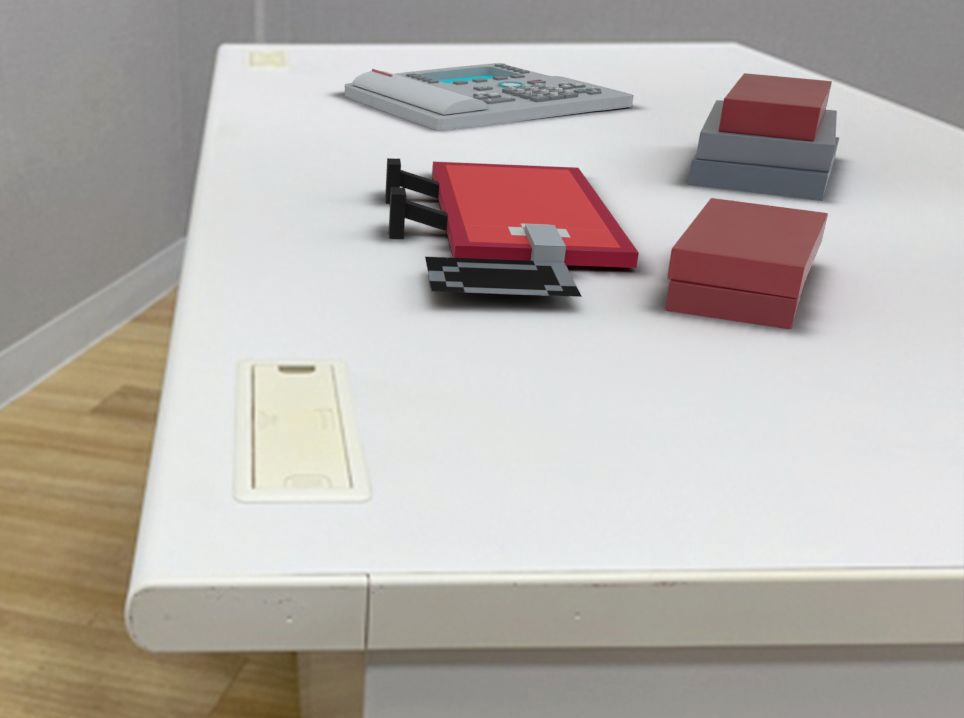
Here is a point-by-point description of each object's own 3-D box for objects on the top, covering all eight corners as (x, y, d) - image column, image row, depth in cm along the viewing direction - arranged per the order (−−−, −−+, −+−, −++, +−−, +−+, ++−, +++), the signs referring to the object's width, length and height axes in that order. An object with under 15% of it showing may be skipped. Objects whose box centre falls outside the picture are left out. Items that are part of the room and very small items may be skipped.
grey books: (822, 202, 90) (834, 146, 88) (681, 185, 93) (690, 131, 91) (834, 161, 101) (846, 111, 99) (708, 147, 104) (717, 98, 102)
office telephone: (441, 103, 105) (323, 66, 119) (439, 134, 107) (323, 94, 120) (637, 79, 116) (507, 47, 130) (633, 108, 117) (506, 73, 131)
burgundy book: (814, 141, 89) (821, 107, 88) (718, 131, 91) (723, 98, 90) (825, 112, 98) (832, 80, 97) (738, 103, 101) (743, 72, 99)
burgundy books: (798, 332, 66) (813, 268, 64) (660, 311, 69) (670, 249, 67) (815, 269, 76) (828, 211, 74) (694, 252, 78) (703, 196, 76)
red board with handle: (396, 306, 67) (662, 316, 68) (399, 256, 66) (670, 266, 66) (383, 178, 93) (576, 186, 93) (384, 140, 91) (580, 148, 92)
